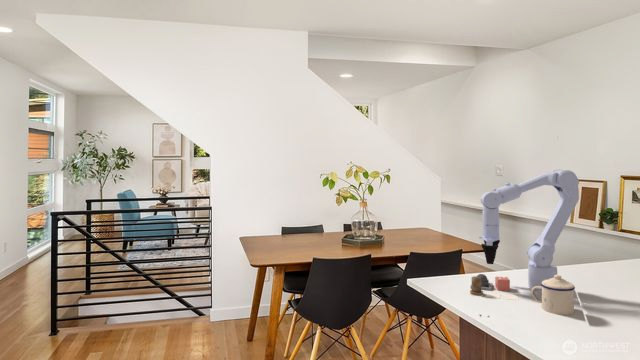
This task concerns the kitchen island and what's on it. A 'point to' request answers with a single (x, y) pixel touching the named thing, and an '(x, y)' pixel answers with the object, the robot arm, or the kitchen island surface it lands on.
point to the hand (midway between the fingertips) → (490, 261)
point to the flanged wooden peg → (476, 286)
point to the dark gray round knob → (483, 280)
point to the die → (502, 283)
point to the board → (495, 294)
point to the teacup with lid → (556, 296)
